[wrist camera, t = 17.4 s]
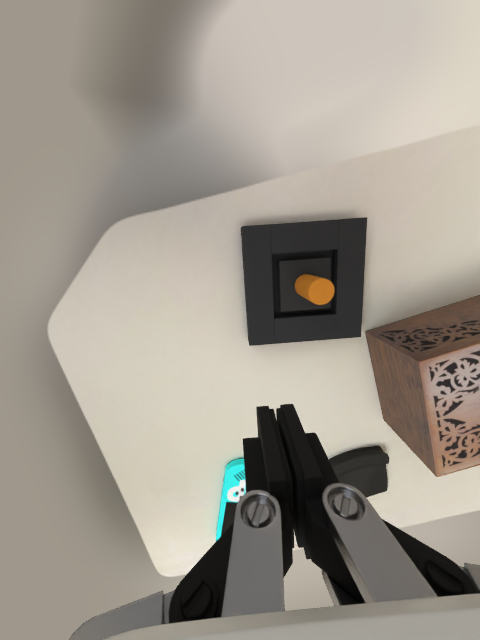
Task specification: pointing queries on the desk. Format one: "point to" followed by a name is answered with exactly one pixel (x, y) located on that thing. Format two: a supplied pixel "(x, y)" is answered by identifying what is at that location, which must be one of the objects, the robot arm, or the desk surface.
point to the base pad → (304, 243)
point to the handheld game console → (231, 494)
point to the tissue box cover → (432, 383)
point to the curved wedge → (363, 469)
